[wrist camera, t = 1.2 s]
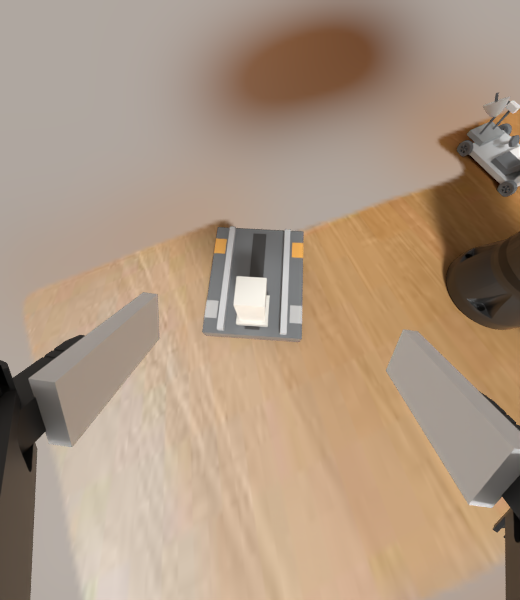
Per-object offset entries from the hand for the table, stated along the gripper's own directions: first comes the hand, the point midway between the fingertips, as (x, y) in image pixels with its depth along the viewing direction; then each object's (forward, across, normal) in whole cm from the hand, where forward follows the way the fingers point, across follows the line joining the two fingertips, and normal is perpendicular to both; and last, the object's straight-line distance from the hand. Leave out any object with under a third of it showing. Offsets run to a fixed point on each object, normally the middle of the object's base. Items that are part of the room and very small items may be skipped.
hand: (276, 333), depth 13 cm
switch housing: (+31, -2, -9) cm, 33 cm away
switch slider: (+25, -2, -11) cm, 27 cm away
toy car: (+54, +46, +19) cm, 73 cm away
